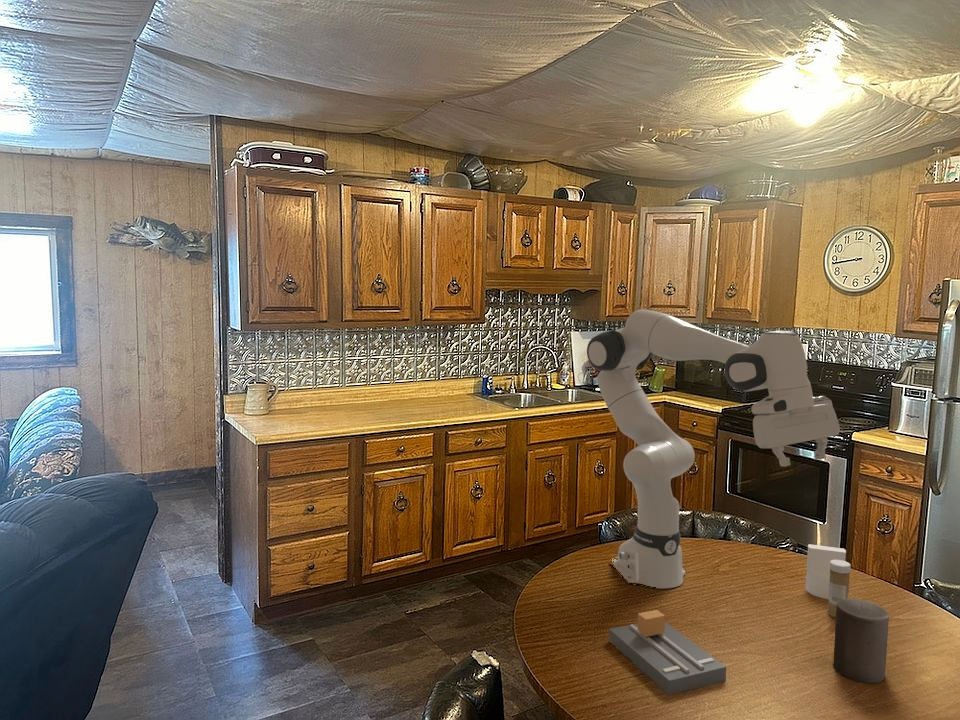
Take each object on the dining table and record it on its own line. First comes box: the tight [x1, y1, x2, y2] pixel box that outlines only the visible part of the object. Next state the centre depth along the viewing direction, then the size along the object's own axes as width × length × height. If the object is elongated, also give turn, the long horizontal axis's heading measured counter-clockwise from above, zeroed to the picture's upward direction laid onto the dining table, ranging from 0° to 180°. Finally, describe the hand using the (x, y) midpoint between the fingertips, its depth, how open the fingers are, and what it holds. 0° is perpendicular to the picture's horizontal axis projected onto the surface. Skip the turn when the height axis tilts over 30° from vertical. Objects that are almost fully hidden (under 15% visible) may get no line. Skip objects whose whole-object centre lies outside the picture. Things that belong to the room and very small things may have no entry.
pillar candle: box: [832, 598, 890, 684], centre depth 141 cm, size 10×10×15 cm
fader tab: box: [637, 609, 666, 637], centre depth 149 cm, size 3×5×5 cm, turn 111°
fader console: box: [608, 621, 727, 696], centre depth 145 cm, size 22×14×4 cm, turn 21°
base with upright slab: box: [805, 543, 847, 600], centre depth 179 cm, size 9×9×12 cm
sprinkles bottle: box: [827, 560, 852, 619], centre depth 166 cm, size 5×5×14 cm
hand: (803, 462), depth 150 cm, fingers open, 8 cm apart
